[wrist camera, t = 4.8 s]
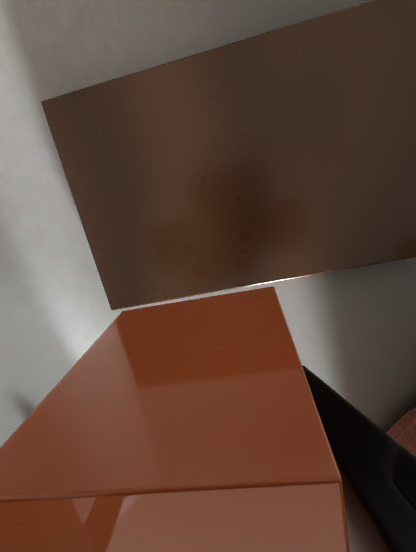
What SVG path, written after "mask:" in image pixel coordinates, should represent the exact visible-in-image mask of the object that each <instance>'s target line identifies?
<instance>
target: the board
mask: <svg viewBox="0 0 416 552" xmlns="http://www.w3.org/2000/svg"><path fill="white" fill-rule="evenodd" d="M41 104H42V107H43V110H44V113H45V116H46V119H47V122H48V125H49V127H50V130H51V133H52V136H53V139H54V142H55V145H56V148H57V151H58V154H59V157H60V160H61V163H62V166H63V169H64V172H65V175H66V178H67V181H68V183H69V186H70V189H71V192H72V195H73V198H74V201H75V204H76V207H77V210H78V213H79V216H80V219H81V222H82V225H83V228H84V231H85V234H86V237H87V239H88V242H89V245H90V248H91V251H92V254H93V257H94V260H95V263H96V266H97V269H98V272H99V275H100V278H101V281H102V284H103V287H104V290H105V292H106V295H107V298H108V301H109V304H110V307H111V310H116V309H122V308H128V307H133V306H139V305H145V304H150V303H156V302H162V301H167V300H173V299H179V298H184V297H190V296H196V295H202V294H207V293H213V292H219V291H224V290H230V289H236V288H241V287H247V286H253V285H258V284H264V283H270V282H276V281H281V280H287V279H293V278H298V277H304V276H310V275H315V274H321V273H327V272H332V271H338V270H344V269H350V268H355V267H361V266H367V265H372V264H378V263H384V262H389V261H395V260H401V259H406V258H412V257H416V0H372V1H369V2H366V3H362V4H359V5H356V6H353V7H349V8H346V9H343V10H340V11H336V12H333V13H330V14H326V15H323V16H320V17H317V18H313V19H310V20H307V21H303V22H300V23H297V24H294V25H290V26H287V27H284V28H281V29H277V30H274V31H271V32H267V33H264V34H261V35H258V36H254V37H251V38H248V39H244V40H241V41H238V42H235V43H231V44H228V45H225V46H221V47H218V48H215V49H212V50H208V51H205V52H202V53H199V54H195V55H192V56H189V57H185V58H182V59H179V60H176V61H172V62H169V63H166V64H162V65H159V66H156V67H153V68H149V69H146V70H143V71H140V72H136V73H133V74H130V75H126V76H123V77H120V78H117V79H113V80H110V81H107V82H103V83H100V84H97V85H94V86H90V87H87V88H84V89H81V90H77V91H74V92H71V93H67V94H64V95H61V96H58V97H54V98H51V99H48V100H44V101H42V102H41Z"/></svg>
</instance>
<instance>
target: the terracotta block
mask: <svg viewBox="0 0 416 552" xmlns="http://www.w3.org/2000/svg"><path fill="white" fill-rule="evenodd" d="M0 552H350V550H349V540H348V530H347V521H346V511H345V502H344V492H343V483H342V477H341V474H340V471H339V468H338V466H337V463H336V460H335V457H334V454H333V452H332V449H331V446H330V443H329V440H328V437H327V435H326V432H325V429H324V426H323V423H322V421H321V418H320V415H319V412H318V409H317V407H316V404H315V401H314V398H313V395H312V392H311V390H310V387H309V384H308V381H307V378H306V376H305V373H304V370H303V367H302V364H301V362H300V359H299V356H298V353H297V350H296V347H295V345H294V342H293V339H292V336H291V333H290V331H289V328H288V325H287V322H286V319H285V317H284V314H283V311H282V308H281V305H280V303H279V300H278V297H277V294H276V291H275V288H274V287H267V288H261V289H255V290H249V291H243V292H236V293H230V294H224V295H218V296H212V297H206V298H200V299H194V300H188V301H182V302H176V303H170V304H164V305H157V306H151V307H145V308H139V309H133V310H127V311H122V312H121V313H120V315H119V316H118V317H117V318H116V319H115V320H114V321H113V322H112V323H111V325H110V326H109V327H108V328H107V329H106V330H105V331H104V332H103V334H102V335H101V336H100V337H99V338H98V339H97V340H96V341H95V342H94V344H93V345H92V346H91V347H90V348H89V349H88V350H87V351H86V353H85V354H84V355H83V356H82V357H81V358H80V359H79V360H78V361H77V363H76V364H75V365H74V366H73V367H72V368H71V369H70V370H69V372H68V373H67V374H66V375H65V376H64V377H63V378H62V379H61V380H60V382H59V383H58V384H57V385H56V386H55V387H54V388H53V389H52V391H51V392H50V393H49V394H48V395H47V396H46V397H45V398H44V399H43V401H42V402H41V403H40V404H39V405H38V406H37V407H36V408H35V410H34V411H33V412H32V413H31V414H30V415H29V416H28V417H27V418H26V420H25V421H24V422H23V423H22V424H21V425H20V426H19V427H18V428H17V430H16V431H15V432H14V433H13V434H12V435H11V436H10V437H9V439H8V440H7V441H6V442H5V443H4V444H3V445H2V446H1V447H0Z"/></svg>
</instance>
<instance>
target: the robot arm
mask: <svg viewBox="0 0 416 552" xmlns="http://www.w3.org/2000/svg"><path fill="white" fill-rule="evenodd" d="M302 367H303V370H304V373H305V376H306V378H307V381H308V384H309V387H310V390H311V392H312V395H313V398H314V401H315V404H316V407H317V409H318V412H319V415H320V418H321V421H322V423H323V426H324V429H325V432H326V435H327V437H328V440H329V443H330V446H331V449H332V452H333V454H334V457H335V460H336V463H337V466H338V468H339V471H340V474H341V477H342V483H343V492H344V502H345V511H346V521H347V530H348V540H349V550H350V552H416V457H415V456H414V455H413V454H411V453H410V452H409V451H408V450H407V449H405V448H404V447H403V446H401V445H400V446H399V443H398V442H397V441H395V440H394V439H393V438H392V437H390V436H389V435H388V434H387V433H386V432H384V431H383V430H382V429H381V428H380V427H378V426H377V425H376V424H375V423H373V422H372V421H371V420H370V419H369V418H367V417H366V416H365V415H364V414H362V413H361V412H360V411H359V410H358V409H356V408H355V407H354V406H353V405H351V404H350V403H349V402H348V401H347V400H345V399H344V398H343V397H342V396H340V395H339V394H338V393H337V392H336V391H334V390H333V389H332V388H331V387H329V386H328V385H327V384H326V383H325V382H323V381H322V380H321V379H320V378H318V377H317V376H316V375H315V374H314V373H312V372H311V371H310V370H309V369H307V368H306V367H305V366H303V365H302Z"/></svg>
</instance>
